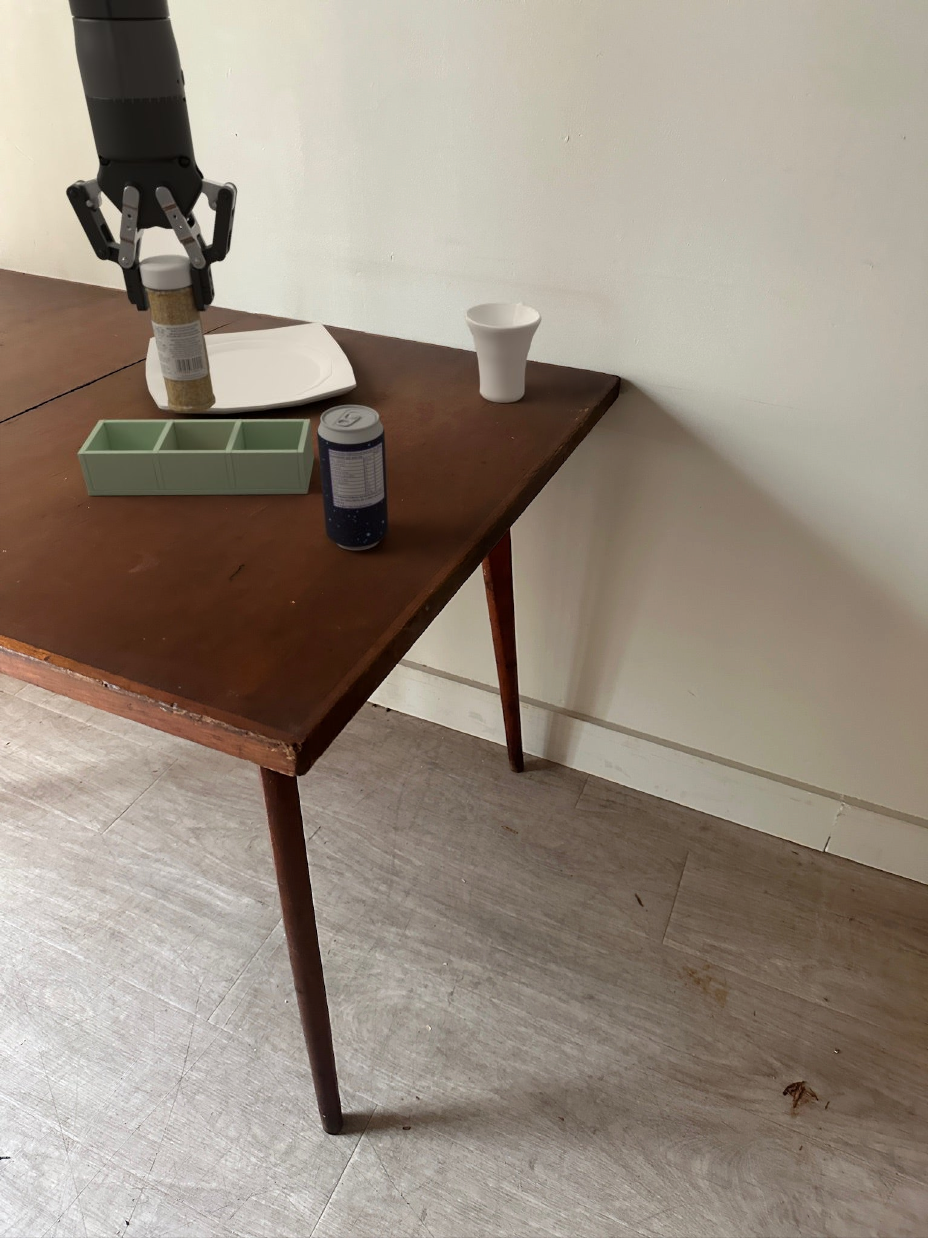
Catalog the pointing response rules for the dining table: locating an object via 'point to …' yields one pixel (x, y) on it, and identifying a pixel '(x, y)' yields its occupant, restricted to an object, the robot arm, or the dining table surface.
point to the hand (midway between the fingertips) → (174, 307)
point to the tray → (198, 457)
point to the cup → (502, 347)
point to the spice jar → (178, 332)
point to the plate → (265, 369)
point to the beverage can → (353, 476)
